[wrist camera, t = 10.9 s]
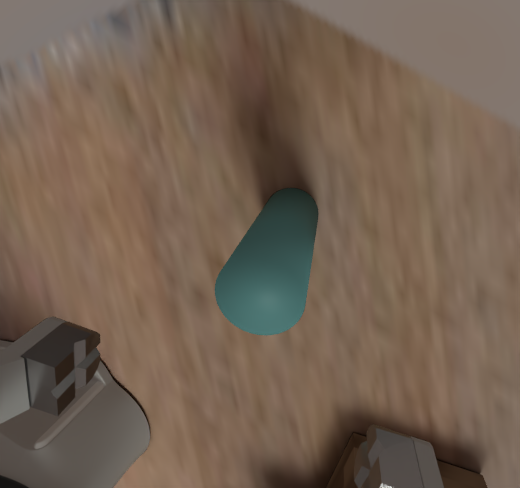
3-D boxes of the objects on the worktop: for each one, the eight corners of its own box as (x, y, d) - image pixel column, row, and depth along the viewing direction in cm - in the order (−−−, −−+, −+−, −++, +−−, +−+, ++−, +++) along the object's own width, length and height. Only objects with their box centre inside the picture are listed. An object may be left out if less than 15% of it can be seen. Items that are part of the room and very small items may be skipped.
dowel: (260, 231, 27) (208, 320, 16) (271, 181, 25) (223, 243, 14) (309, 245, 26) (292, 345, 15) (324, 195, 25) (317, 270, 14)
